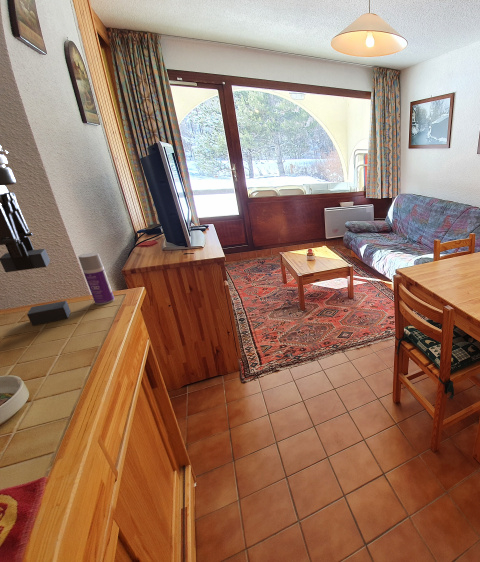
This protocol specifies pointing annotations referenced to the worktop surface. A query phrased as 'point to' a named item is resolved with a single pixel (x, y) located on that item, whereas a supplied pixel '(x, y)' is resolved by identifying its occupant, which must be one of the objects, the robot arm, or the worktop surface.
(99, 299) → the container
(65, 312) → the black pad
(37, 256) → the dark grey block
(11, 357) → the worktop surface
